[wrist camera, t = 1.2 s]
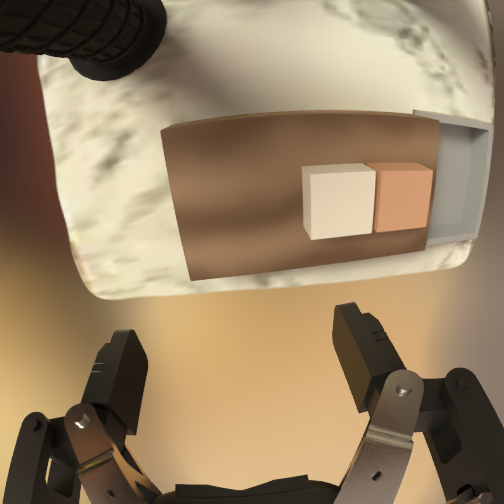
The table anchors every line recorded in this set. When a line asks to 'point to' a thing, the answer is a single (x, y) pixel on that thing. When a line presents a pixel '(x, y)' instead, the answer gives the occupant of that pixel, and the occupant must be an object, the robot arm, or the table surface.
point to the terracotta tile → (401, 196)
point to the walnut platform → (282, 185)
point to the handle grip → (85, 32)
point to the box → (459, 177)
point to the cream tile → (338, 200)
